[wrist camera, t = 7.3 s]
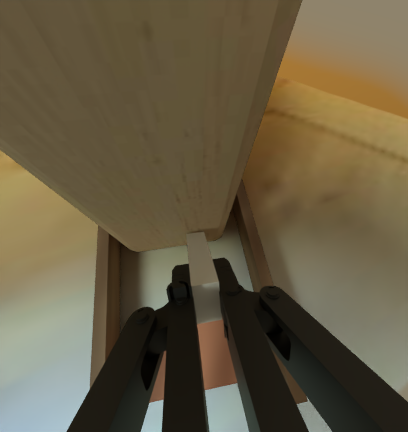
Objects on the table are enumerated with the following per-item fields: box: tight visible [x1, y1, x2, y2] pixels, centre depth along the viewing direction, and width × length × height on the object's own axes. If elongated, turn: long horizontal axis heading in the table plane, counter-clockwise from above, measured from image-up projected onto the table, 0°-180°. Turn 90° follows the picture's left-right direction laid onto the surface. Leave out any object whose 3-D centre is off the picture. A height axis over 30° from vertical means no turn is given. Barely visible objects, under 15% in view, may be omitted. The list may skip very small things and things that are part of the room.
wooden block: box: [0, 0, 302, 252], centre depth 14 cm, size 10×10×20 cm
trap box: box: [90, 179, 307, 404], centre depth 21 cm, size 15×38×6 cm, turn 10°
